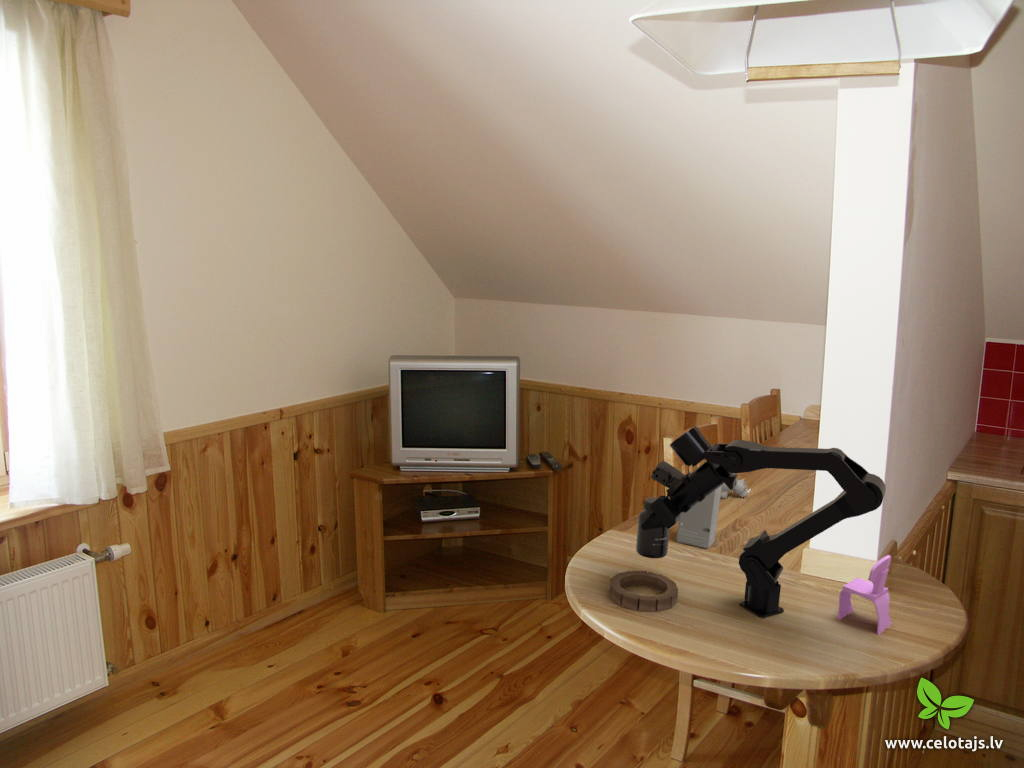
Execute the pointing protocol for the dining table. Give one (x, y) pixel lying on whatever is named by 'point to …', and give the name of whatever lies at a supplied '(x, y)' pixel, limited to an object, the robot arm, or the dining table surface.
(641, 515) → the supplement bottle
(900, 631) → the dining table surface
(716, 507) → the skincare box
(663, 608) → the segmented ring
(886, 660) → the dining table surface
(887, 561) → the toy chair
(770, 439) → the dining table surface
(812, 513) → the robot arm
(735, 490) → the chubby cartoon animal
